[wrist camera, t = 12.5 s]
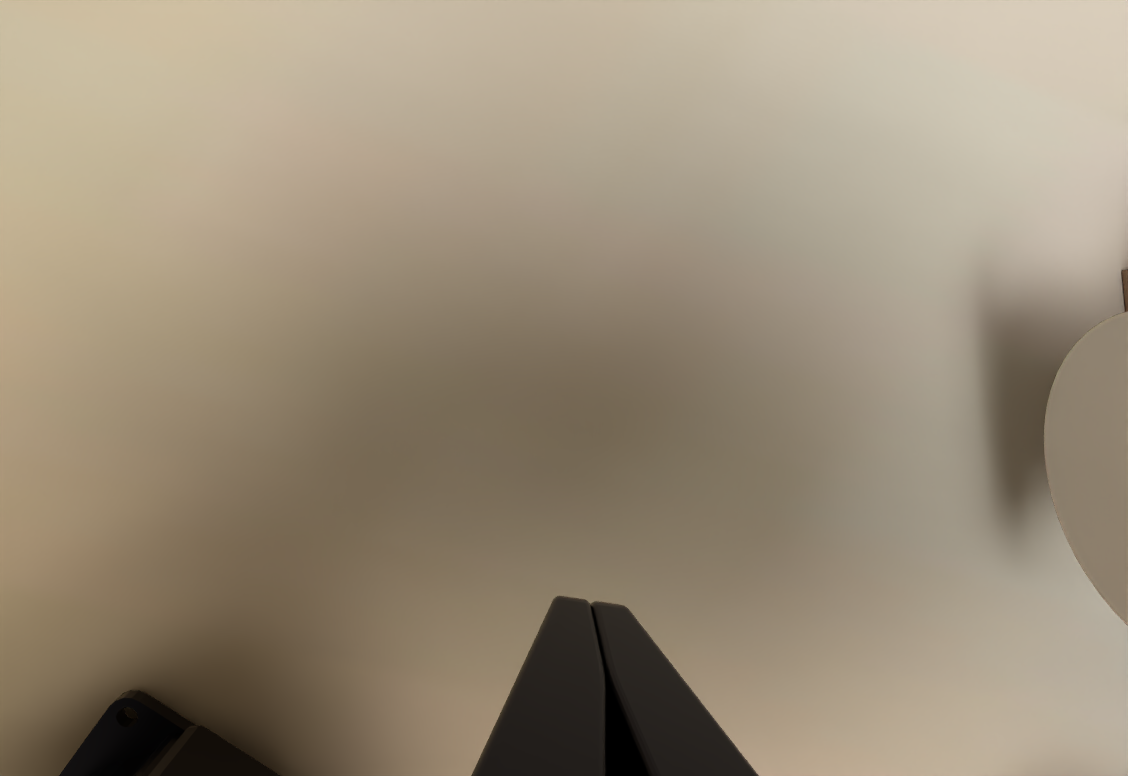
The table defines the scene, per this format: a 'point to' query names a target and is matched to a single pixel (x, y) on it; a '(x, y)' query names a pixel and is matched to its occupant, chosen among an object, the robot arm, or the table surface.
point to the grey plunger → (1093, 456)
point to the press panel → (1125, 287)
